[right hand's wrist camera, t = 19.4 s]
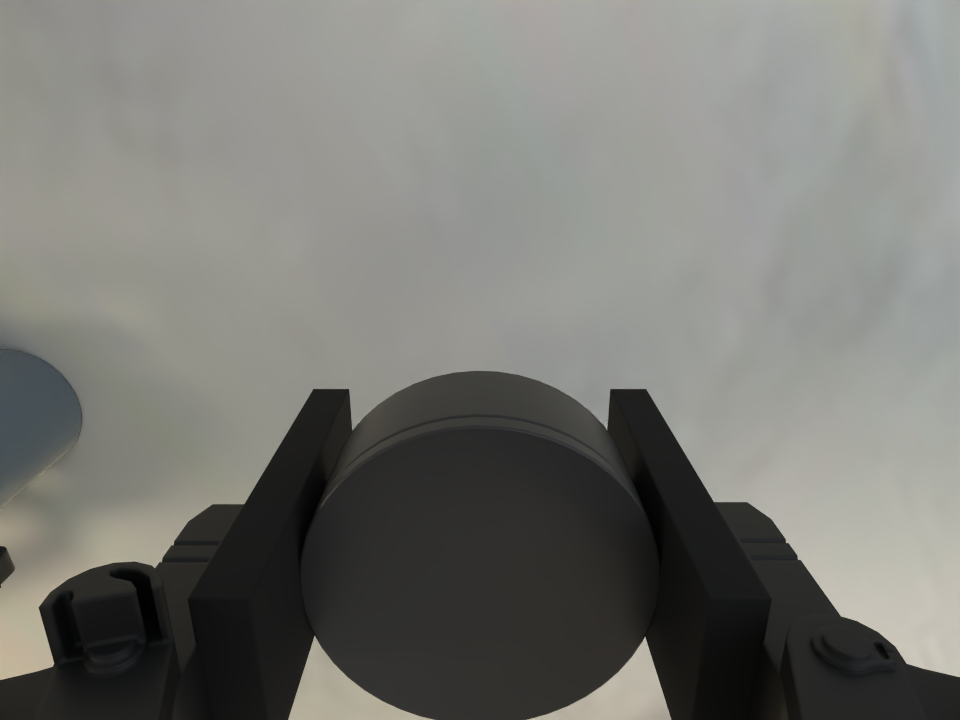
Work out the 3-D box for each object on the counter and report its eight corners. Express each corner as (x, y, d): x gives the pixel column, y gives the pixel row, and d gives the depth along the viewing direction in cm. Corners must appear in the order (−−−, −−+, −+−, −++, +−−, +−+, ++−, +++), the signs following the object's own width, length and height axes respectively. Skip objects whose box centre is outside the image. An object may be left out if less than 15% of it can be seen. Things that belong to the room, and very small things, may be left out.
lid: (344, 633, 13) (319, 729, 11) (312, 373, 11) (275, 431, 9) (624, 626, 13) (651, 722, 11) (638, 365, 11) (674, 420, 9)
